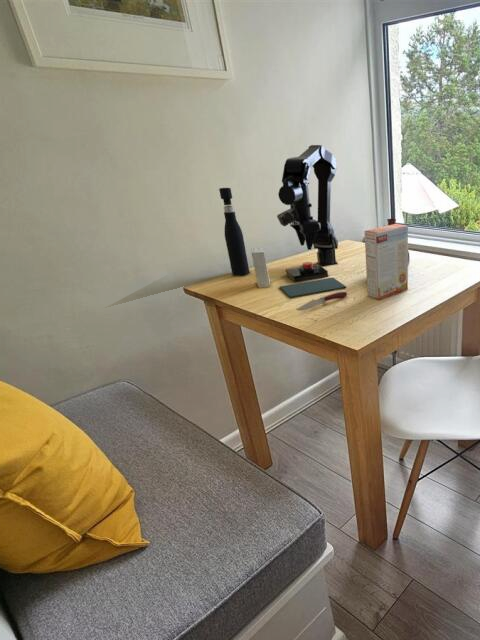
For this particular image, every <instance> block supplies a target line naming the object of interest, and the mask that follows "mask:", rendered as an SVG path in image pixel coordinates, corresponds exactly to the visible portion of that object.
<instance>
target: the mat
mask: <svg viewBox="0 0 480 640" xmlns="http://www.w3.org/2000/svg"><path fill="white" fill-rule="evenodd" d="M279 289H280V290H281V291H282V292H283V293H284V294H285V295H286V296H287V297H288V298H289V299H294V298H300V297H306V296H310V295H316V294H322V293H328V292H334V291H338V290H344V289H347V286H346V285H345V284H344V283H341V281H339V280H337V279H336V278H334V277H326V278H320V279H314V280H308V281H302V282H296V283H292V284H286V285H280V286H279Z"/></svg>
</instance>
